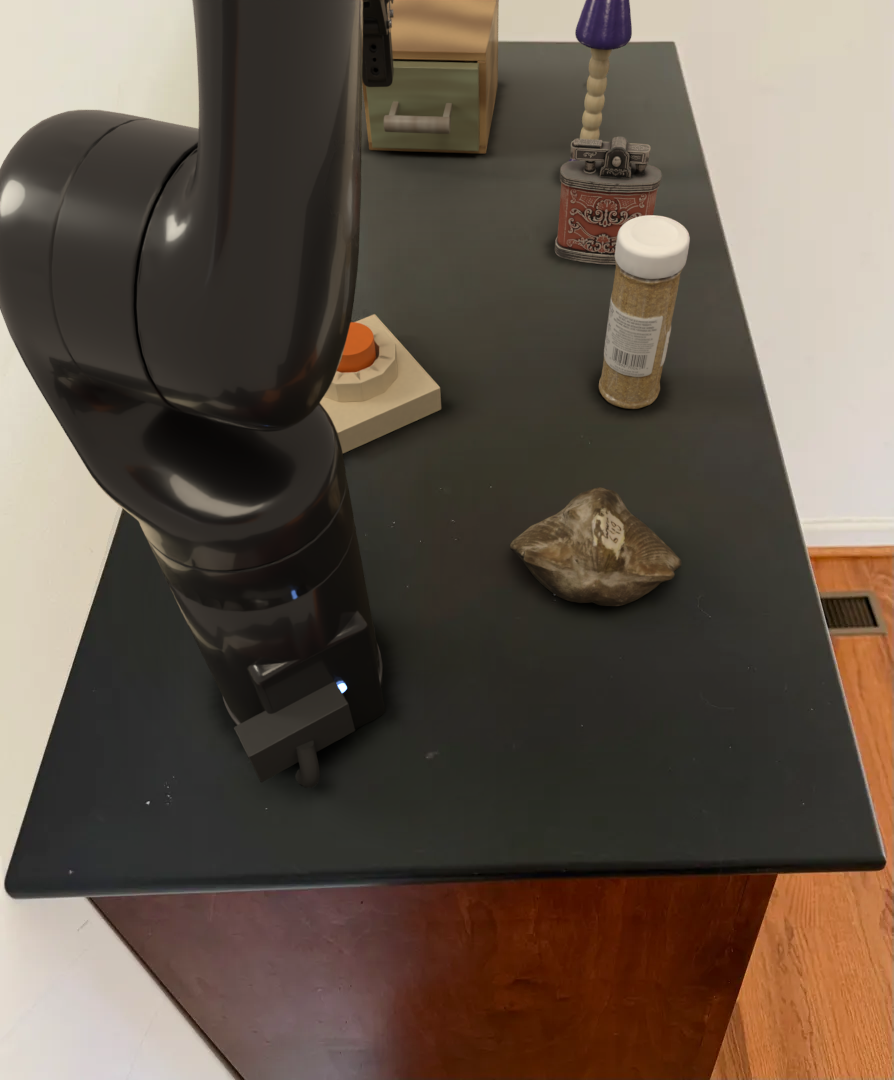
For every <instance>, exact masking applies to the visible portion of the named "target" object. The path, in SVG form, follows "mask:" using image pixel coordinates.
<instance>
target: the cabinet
mask: <svg viewBox="0 0 894 1080" xmlns="http://www.w3.org/2000/svg"><path fill="white" fill-rule="evenodd" d="M499 3H500V0H393V3H392V9H393V10H394V18H392V28H391V39H392V53H393V59H413V60H459V61H477V63H479V108H480V146H479V151H456V150H425V149H393V148H373V147H372V139H371V129H370V120H369V110H368V100H367V91H366V86H365V85H364V83H363V79H362V96H363V104H364V112H365V122H366V133H367V140H368V149H369V151H385V152H387V151H388V152H389V151H390V152H392V151H393V152H419V153H420V152H422V153H423V152H425V153H452V154H453V153H455V154H487V149H488V143H489V138H490V133H491V127H492V122H493V116H494V115H493V114H494V109H495V103H496V98H497V92H498V86H499Z"/></svg>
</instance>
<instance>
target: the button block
mask: <svg viewBox="0 0 894 1080" xmlns="http://www.w3.org/2000/svg"><path fill="white" fill-rule="evenodd" d="M355 322H356V323H360V324H363V325H365V326H367V327H368V328H370V329H371V331H372V332H373V335H374V343H375V351H376V358H375V361H374V363H373V364H372V365H371V366H370V367H368V368H365V369H363V370H360V371H358V372H346V373H341V372H338V371H336V374H335V376H334V379H333V381H332V384H331V386H330V387H329V389H328V391H327V393H326V394H325V396H324V397H323V399H322V400H321V402H320V404H321V405H322V406H323V407H324V409H325V410H326V411H327V413H328V414H329V416H330V418H331V419H332V421H333V423H334V425H335V428H336V430H337V433H338V436H339V440H340V444H341V448H342V453H343V454H346V453H347V452H349V451H352V450H354V449H356V448H358V447H361V446H363V445H365V444H367V443H370V442H373V441H374V440H376V439H379V438H381V437H383V436H385V435H387V434H390V433H392V432H394V431H397V430H399V429H401V428H403V427H405V426H407V425H410V424H413V423H414V422H416V421H418V420H421V419H423V418H426V417H428V416H430V415H432V414H435V413H436V412H438V411H441V410H442V398H441V397H442V396H441V387H440V386H439V384H438V383H437V382H436V381H435V380H434V379H433V378H432V376H431V375H430V374H429V373H428V372H427V371H426V369H424V368H423V366H422V365H421V364H420V363H419V362H418V361H417V360H416V359H415V358H414V356H413V355H412V354H411V353H410V352H409V351H408V350H407V348H406V347H405V346H404V345H403V344H402V343H401V341H400V340H398V338H397V337H396V336H395V335H394V334H393V333H392V332H391V330H390V329H389V328H388V327H387V326H386V324H384V323H383V322H382V320H381V319H380V318H379V317H378V316H377V315H376V314H375V313H374V314H371V315H369V316H366V317H364V318H361V319H359V320H356V321H355Z"/></svg>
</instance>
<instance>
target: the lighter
mask: <svg viewBox="0 0 894 1080" xmlns="http://www.w3.org/2000/svg"><path fill="white" fill-rule="evenodd" d="M569 153H570V154H569V158H570V159H573V160H577V161H569V160H568V161H566V162H564V163H563V164H562V165H561V166H560V168H559V181H560V182H561V184H560V197H559V200H560V201H559V213H558V226H557V236H556V238H555V241H554V252H555V254H556V255H557V256H558V257H559V258H561V259H566V260H571V261H575V262H581V263H588V264H598V265H616V263H615V248H616V241H617V235H618V231H619V229H620V228H621V226H622V225H623V224H624V223H626V222H627V221H629V220H631V219H633V218H636V217H639V216H646V215H654V213H655V207H656V201H657V194H658V189H659V188H660V186H661V183H662V177H663V173H662V171H661V170H660V169H659V168H658V167H656V166H654V165H650V164H648V163H649V161H650V154H651V146H650V145H649V144H648V143H647V144H645V143H633V142H632V143H630V142H629V141H628V139H627V138H626V137H624V136H614V137H612V139H611V140H610V141H603V139H598V140H593V139H580V138H574V140H573V141H571V143H570V151H569Z"/></svg>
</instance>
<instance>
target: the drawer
mask: <svg viewBox="0 0 894 1080" xmlns="http://www.w3.org/2000/svg"><path fill="white" fill-rule="evenodd" d="M393 67H394V74H393V81H392V84H391V85H390V86H388V87H367V86H366V91H367V100H368V110H369V120H370V129H371V139H372V147H373V148H393V149H425V150H456V151H479V146H480V108H479V63H477V61H459V60H413V59H393Z"/></svg>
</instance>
